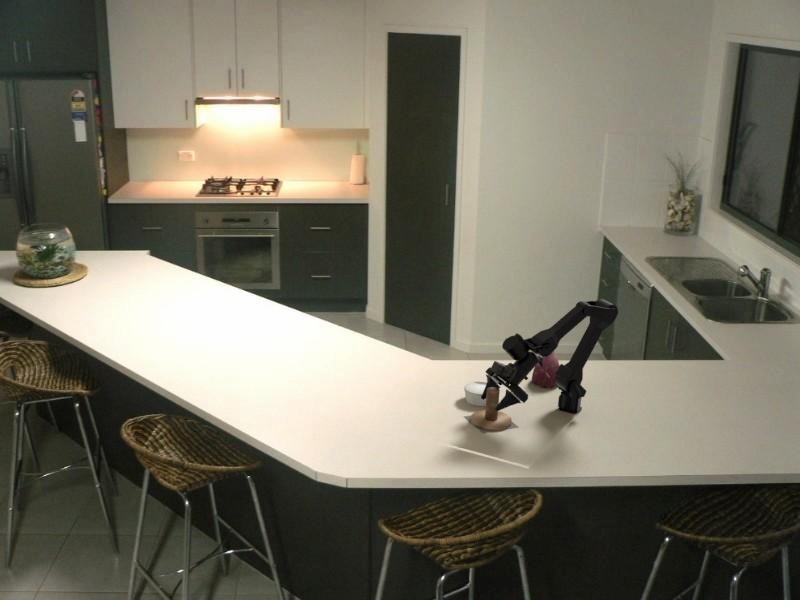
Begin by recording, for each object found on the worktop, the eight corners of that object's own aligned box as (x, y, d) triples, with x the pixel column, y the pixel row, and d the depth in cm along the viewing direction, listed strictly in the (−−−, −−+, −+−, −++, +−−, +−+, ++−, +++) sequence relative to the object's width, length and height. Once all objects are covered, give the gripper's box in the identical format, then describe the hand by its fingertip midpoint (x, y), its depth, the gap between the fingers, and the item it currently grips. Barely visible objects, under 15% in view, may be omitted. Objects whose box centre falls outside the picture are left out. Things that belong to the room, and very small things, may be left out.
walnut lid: (517, 419, 324) (520, 387, 321) (501, 434, 313) (504, 401, 310) (480, 410, 330) (482, 378, 326) (463, 424, 319) (465, 391, 315)
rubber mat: (498, 412, 330) (498, 410, 330) (518, 428, 319) (518, 427, 319) (463, 418, 325) (463, 416, 324) (482, 435, 313) (483, 433, 313)
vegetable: (538, 383, 363) (540, 342, 362) (565, 387, 357) (567, 344, 357) (526, 386, 354) (528, 343, 353) (553, 389, 348) (556, 346, 348)
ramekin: (497, 396, 343) (498, 382, 341) (496, 409, 332) (497, 395, 330) (464, 394, 344) (465, 379, 342) (462, 407, 333) (463, 392, 331)
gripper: (492, 343, 324) (460, 379, 323) (522, 363, 308) (488, 401, 307) (512, 363, 330) (480, 398, 329) (542, 384, 314) (509, 421, 313)
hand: (488, 404), depth 319 cm, fingers open, 9 cm apart
